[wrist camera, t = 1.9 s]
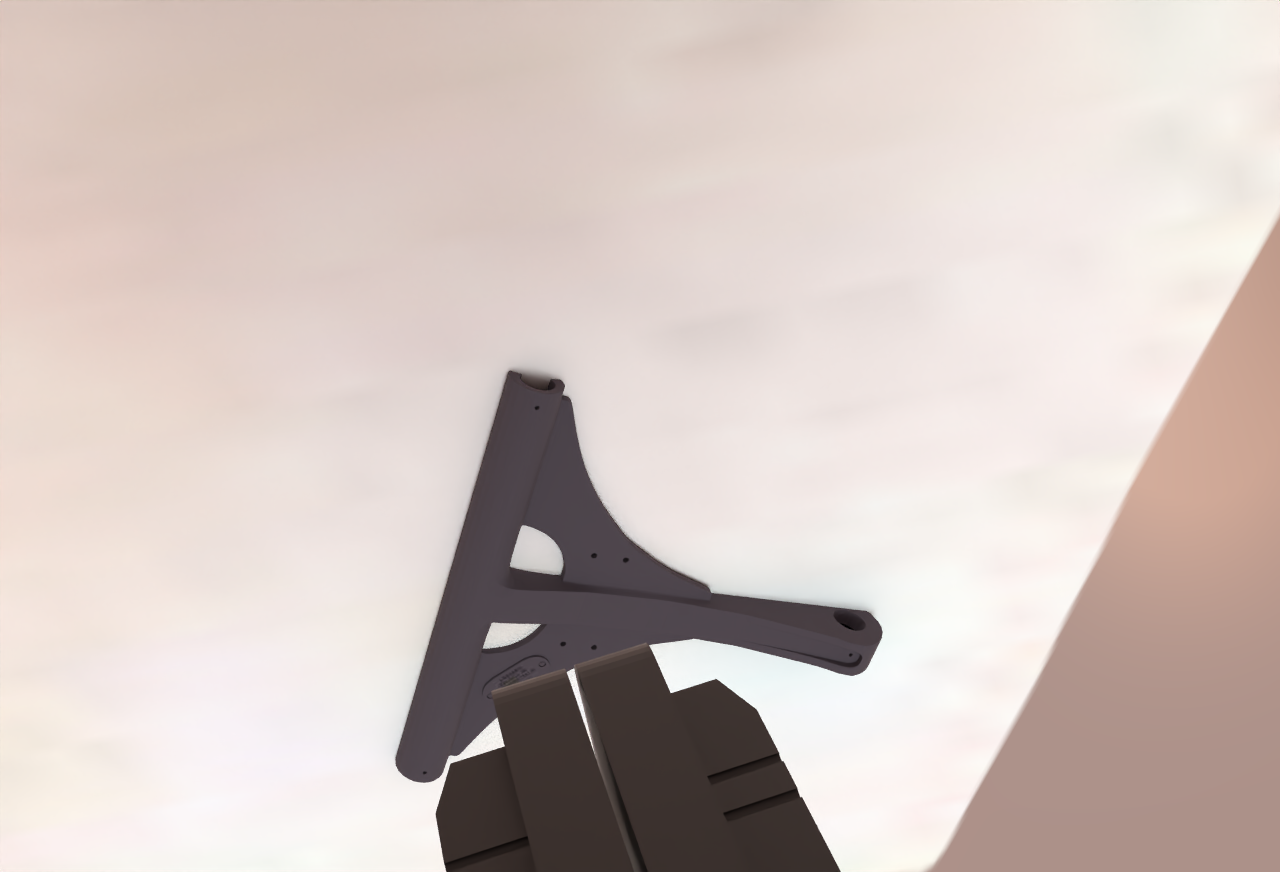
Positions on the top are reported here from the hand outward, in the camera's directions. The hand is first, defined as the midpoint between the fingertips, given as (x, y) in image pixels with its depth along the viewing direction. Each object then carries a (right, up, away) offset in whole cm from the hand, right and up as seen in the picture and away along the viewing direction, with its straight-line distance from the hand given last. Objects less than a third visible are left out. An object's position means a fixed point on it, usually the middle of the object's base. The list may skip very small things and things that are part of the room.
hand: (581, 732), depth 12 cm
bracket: (+1, -2, +29) cm, 29 cm away
